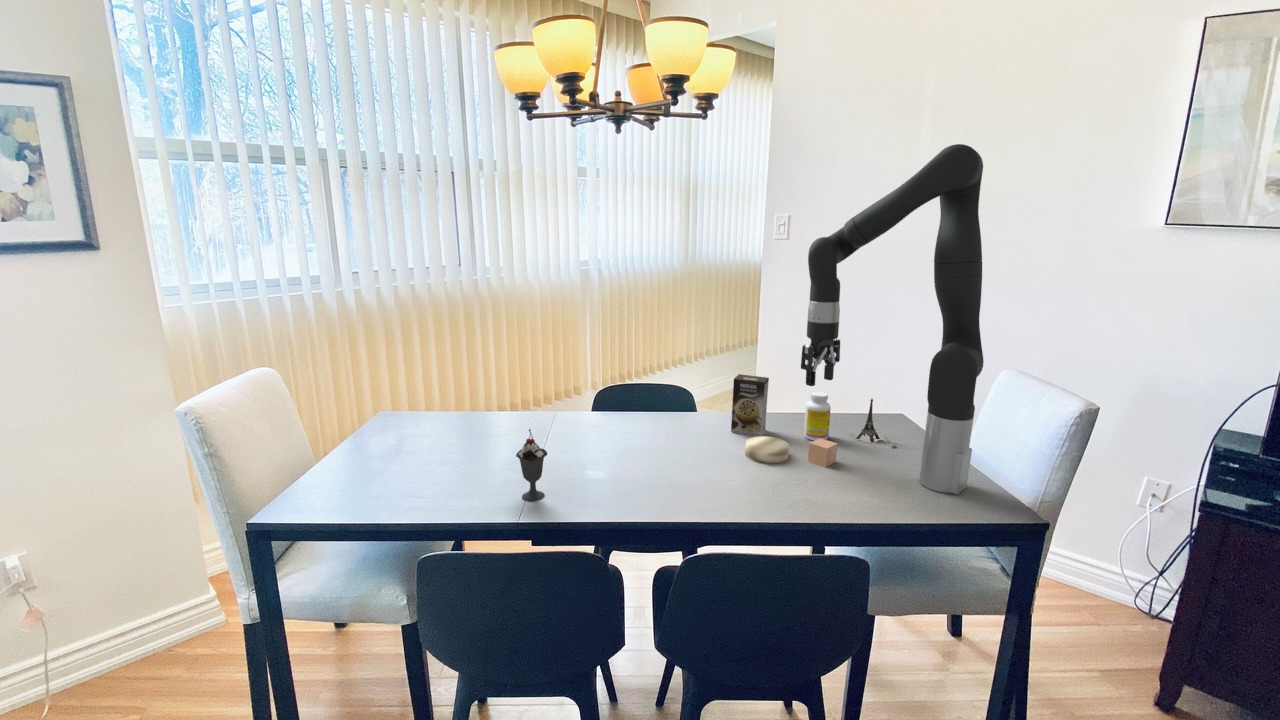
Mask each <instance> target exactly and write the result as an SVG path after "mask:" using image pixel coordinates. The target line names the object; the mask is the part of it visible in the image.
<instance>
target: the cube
mask: <svg viewBox="0 0 1280 720" xmlns="http://www.w3.org/2000/svg"><path fill="white" fill-rule="evenodd" d="M837 452H838V443H837V442H834V441H831V440H828V439H826V440H824V439H821V438H819V439H817V440H815V441H814V440H811V441H810V442H809V443H808V453H807V454H808V457H807V462H809V463H813V464H816V465H817V466H818V465H819V466H822V467H825V468H826V467H828V466H830V465H832V464H834V463H836V461H837V454H838V453H837Z"/></svg>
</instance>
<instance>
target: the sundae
mask: <svg viewBox="0 0 1280 720" xmlns="http://www.w3.org/2000/svg"><path fill="white" fill-rule="evenodd" d="M528 431H529V436H528V438H526V440H525V441H526V442H525V443H524V444H523V446H522V448H521V449H520V450H519V451H517V453H516V454H515V457H516V458H518V460H519V462H520V468H521V473H522V476H523V479H525V481H527V482H529V485H530V486H529V487H530V488H529V491H526V492H523V494H522V496H521V498H522V500H524V501H526V500H528V501H527V502H537V500H538V501H540V500H542V499H544V498H545V493H544V492H543V491H540V490H537V485H536V484H537V483H536V482H537V481H539V480H540V479H541V477H542V475H543V467H544V460H545V458H546V457H547V456H548V452H547V450H546V449H545V448H541V447H540V446H539V444H537V443H536V440H535V439H534V438H533V434H532V432H531V429H530V428H529V429H528Z"/></svg>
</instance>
